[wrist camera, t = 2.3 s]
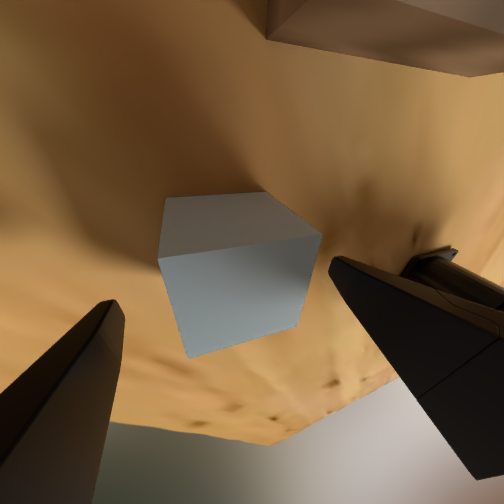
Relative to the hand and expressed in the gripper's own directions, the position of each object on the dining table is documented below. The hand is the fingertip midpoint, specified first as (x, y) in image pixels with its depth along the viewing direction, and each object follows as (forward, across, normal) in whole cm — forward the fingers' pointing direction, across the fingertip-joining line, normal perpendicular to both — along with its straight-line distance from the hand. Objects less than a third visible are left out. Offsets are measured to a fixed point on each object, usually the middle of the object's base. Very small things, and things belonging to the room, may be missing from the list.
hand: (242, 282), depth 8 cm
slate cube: (+4, 0, 0) cm, 4 cm away
